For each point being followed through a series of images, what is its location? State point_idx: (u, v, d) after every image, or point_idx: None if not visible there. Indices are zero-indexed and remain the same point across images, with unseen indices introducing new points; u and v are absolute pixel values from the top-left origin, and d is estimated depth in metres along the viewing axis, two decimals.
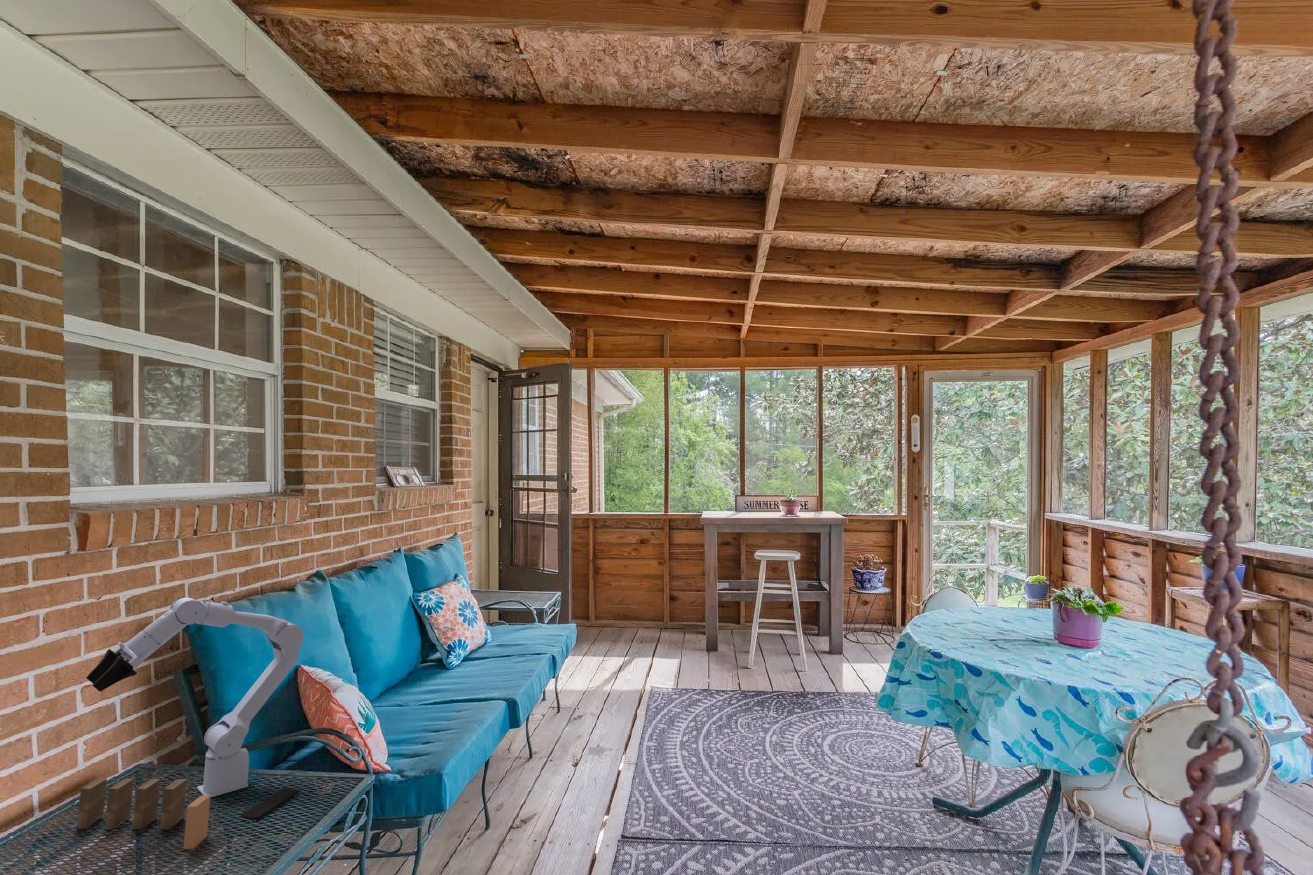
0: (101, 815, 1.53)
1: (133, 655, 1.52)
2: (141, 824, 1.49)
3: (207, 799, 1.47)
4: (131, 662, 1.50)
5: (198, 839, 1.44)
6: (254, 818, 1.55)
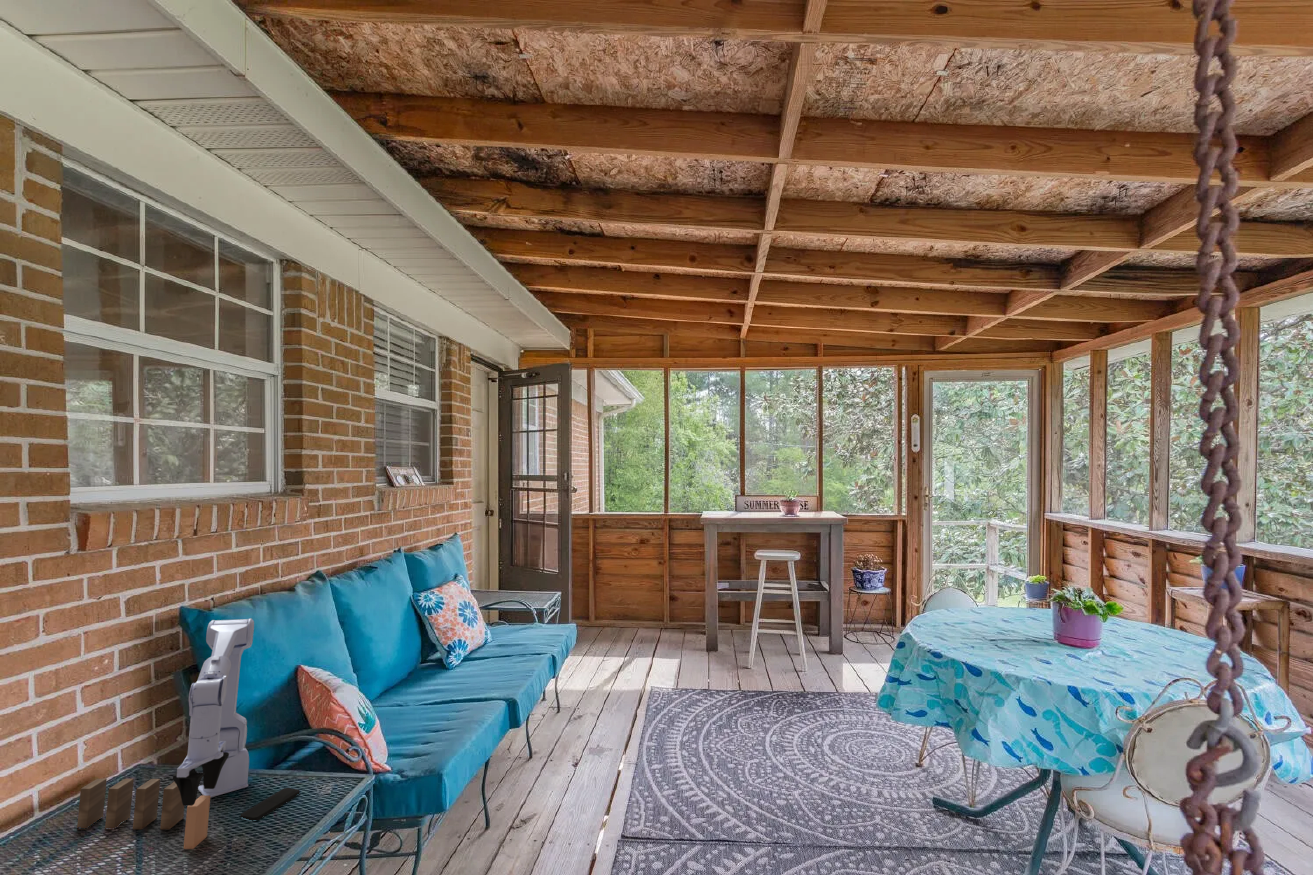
0: (101, 815, 1.53)
1: (222, 745, 1.52)
2: (141, 824, 1.49)
3: (207, 799, 1.47)
4: None
5: (198, 839, 1.44)
6: (254, 818, 1.55)
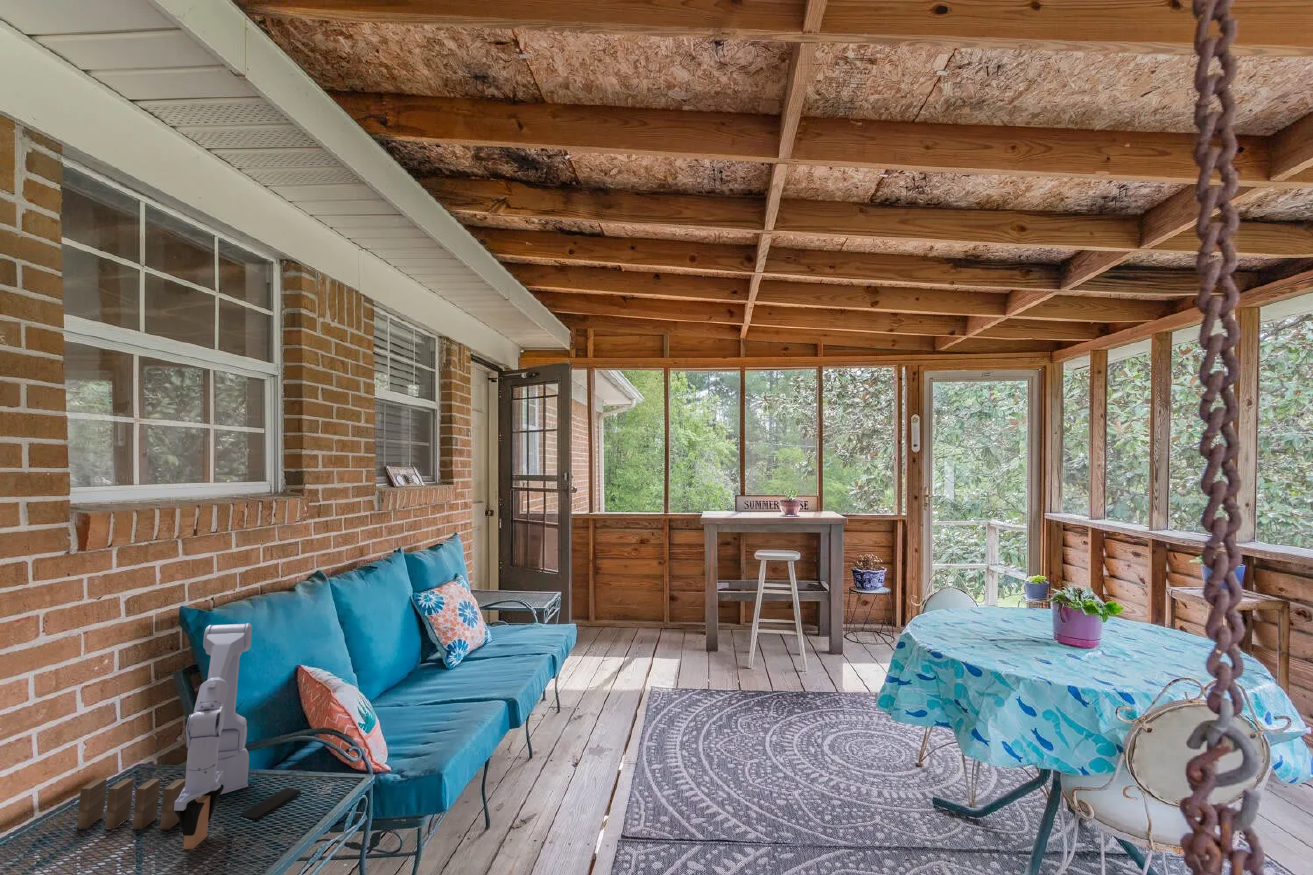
0: (101, 815, 1.53)
1: (220, 775, 1.52)
2: (141, 824, 1.49)
3: (207, 799, 1.47)
4: None
5: (198, 839, 1.44)
6: (253, 818, 1.55)
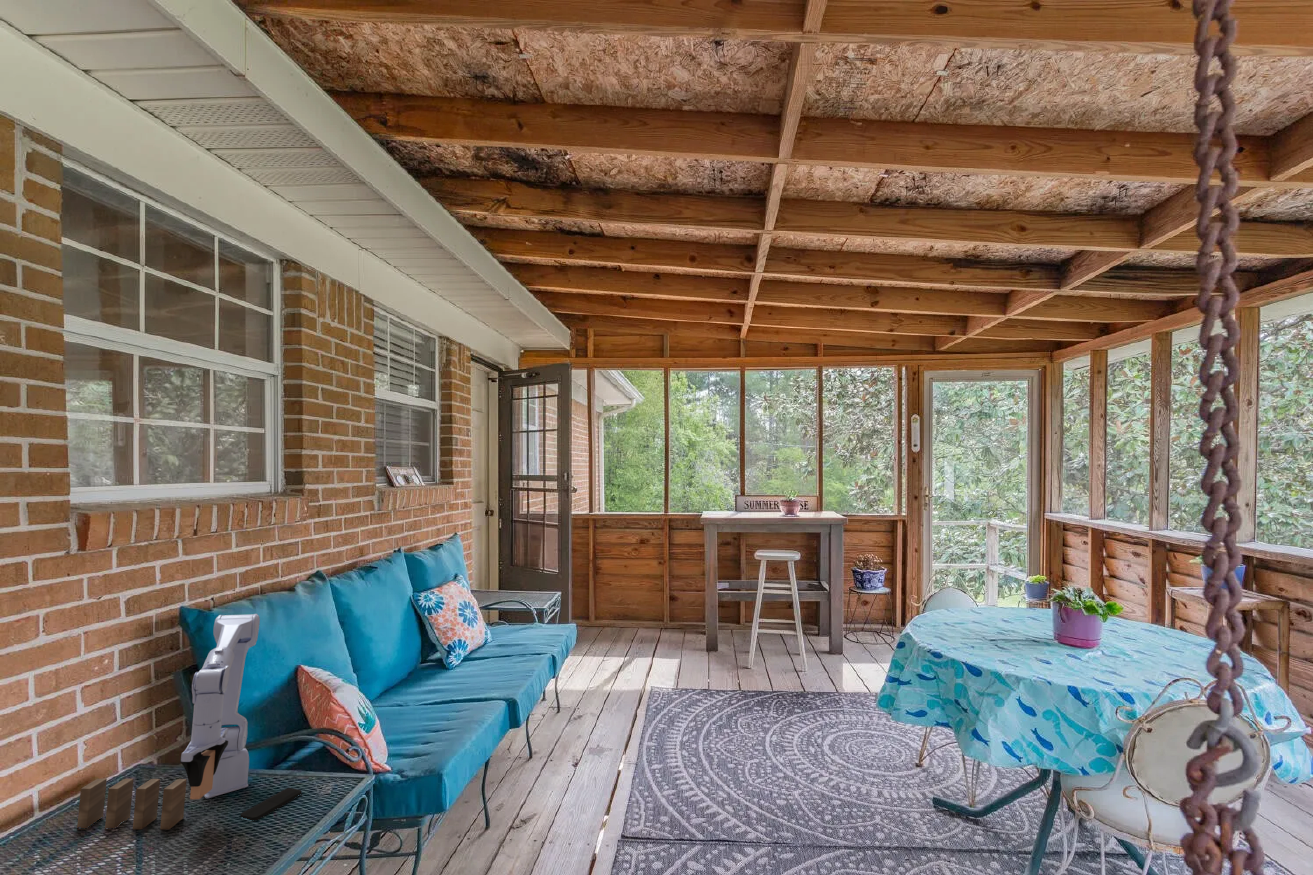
0: (101, 815, 1.53)
1: (224, 731, 1.59)
2: (141, 824, 1.49)
3: (212, 753, 1.54)
4: None
5: (204, 790, 1.52)
6: (253, 818, 1.55)
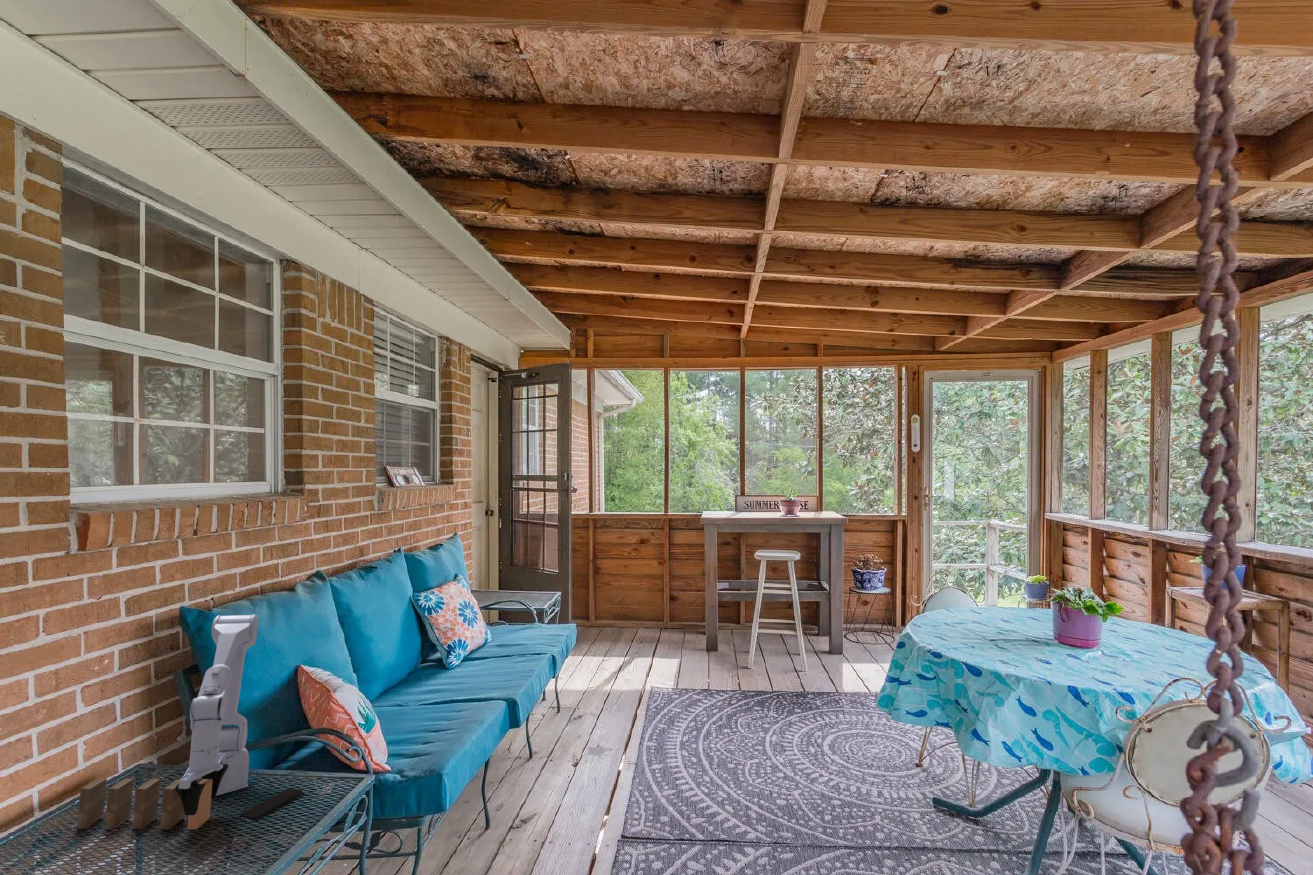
0: (101, 815, 1.53)
1: (222, 757, 1.59)
2: (141, 824, 1.49)
3: (209, 782, 1.55)
4: None
5: (201, 820, 1.52)
6: (252, 818, 1.55)
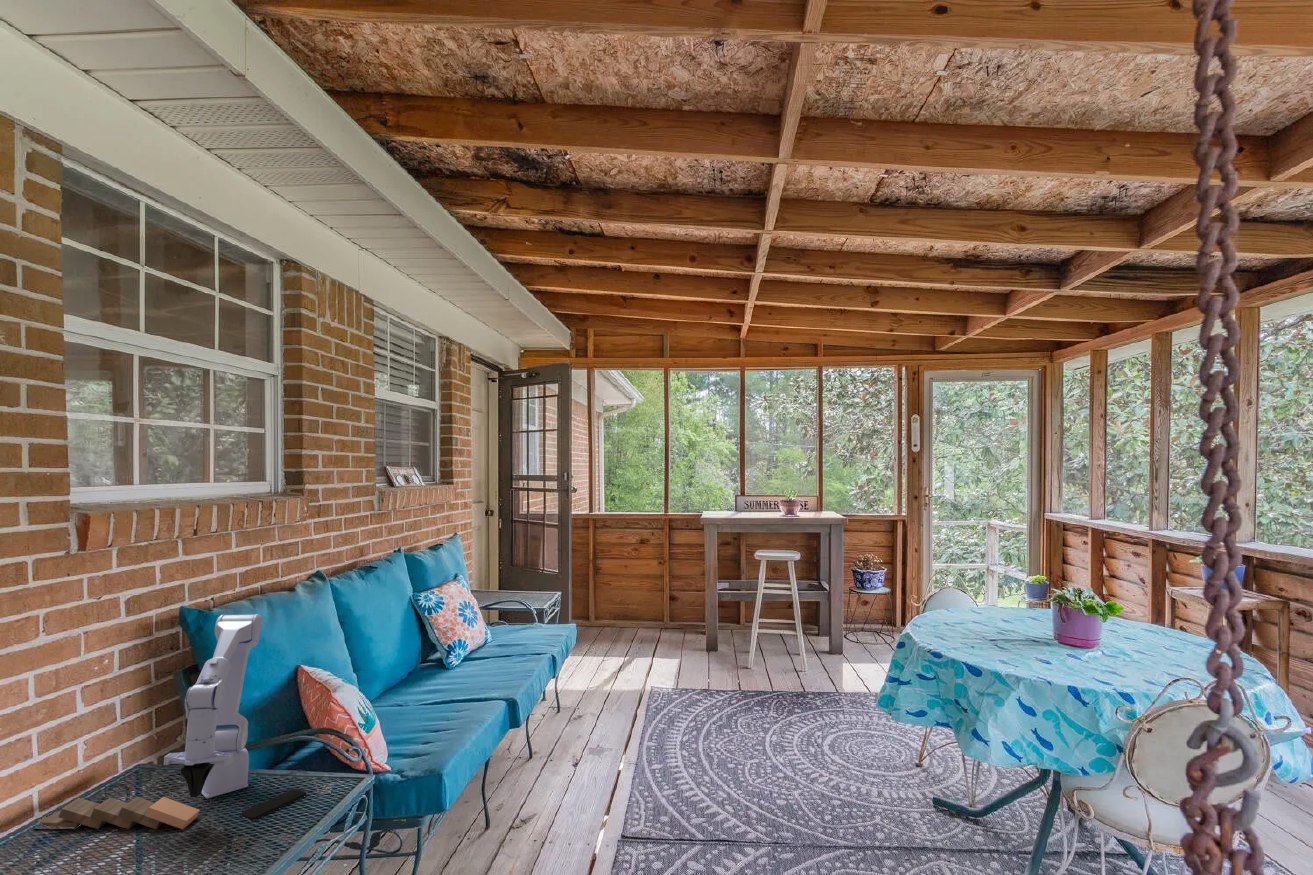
0: None
1: (221, 758, 1.53)
2: (127, 819, 1.49)
3: (162, 799, 1.54)
4: (229, 763, 1.53)
5: (186, 815, 1.52)
6: (251, 818, 1.55)
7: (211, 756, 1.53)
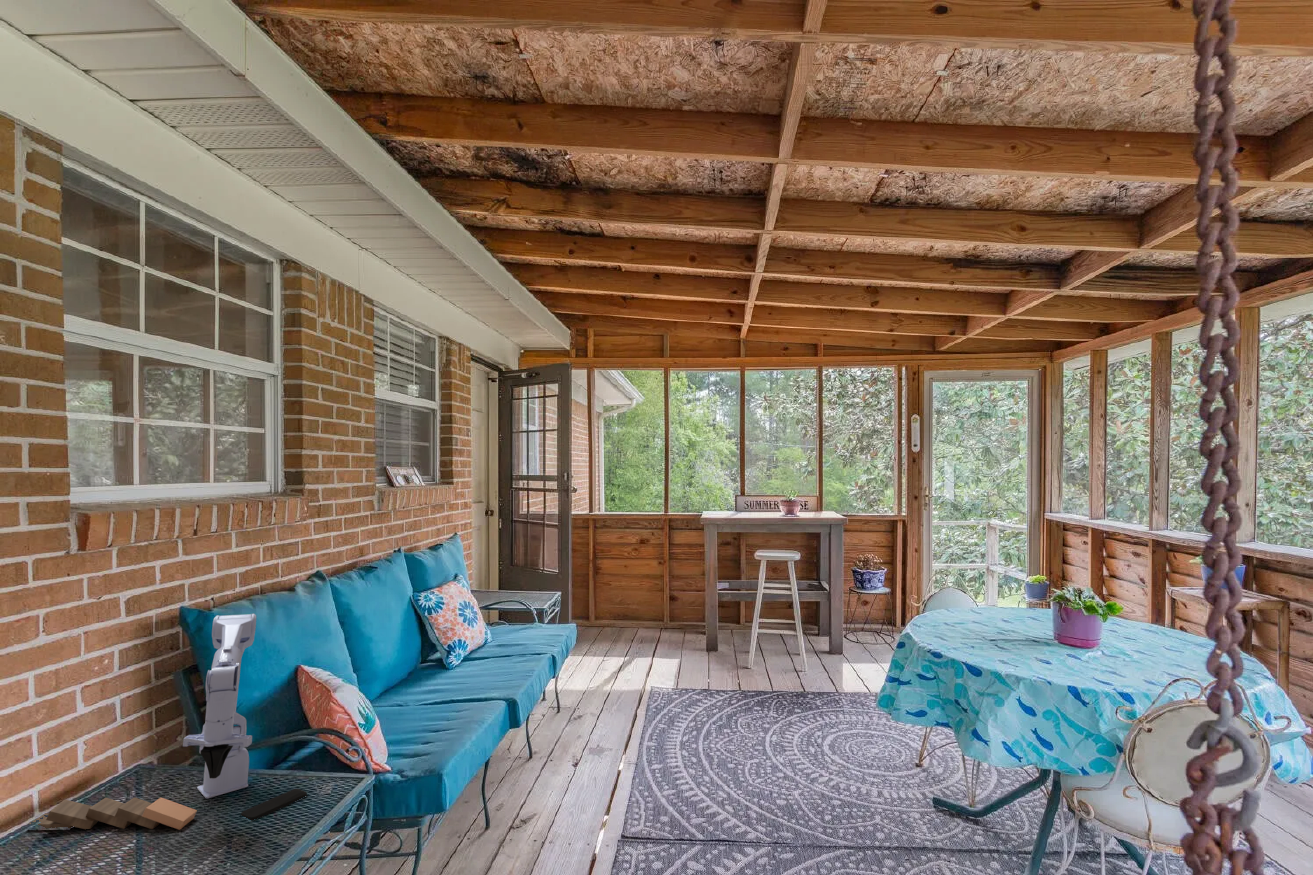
0: None
1: (240, 740, 1.54)
2: (123, 819, 1.49)
3: (159, 799, 1.54)
4: (248, 744, 1.55)
5: (183, 815, 1.52)
6: (250, 818, 1.55)
7: (230, 738, 1.55)
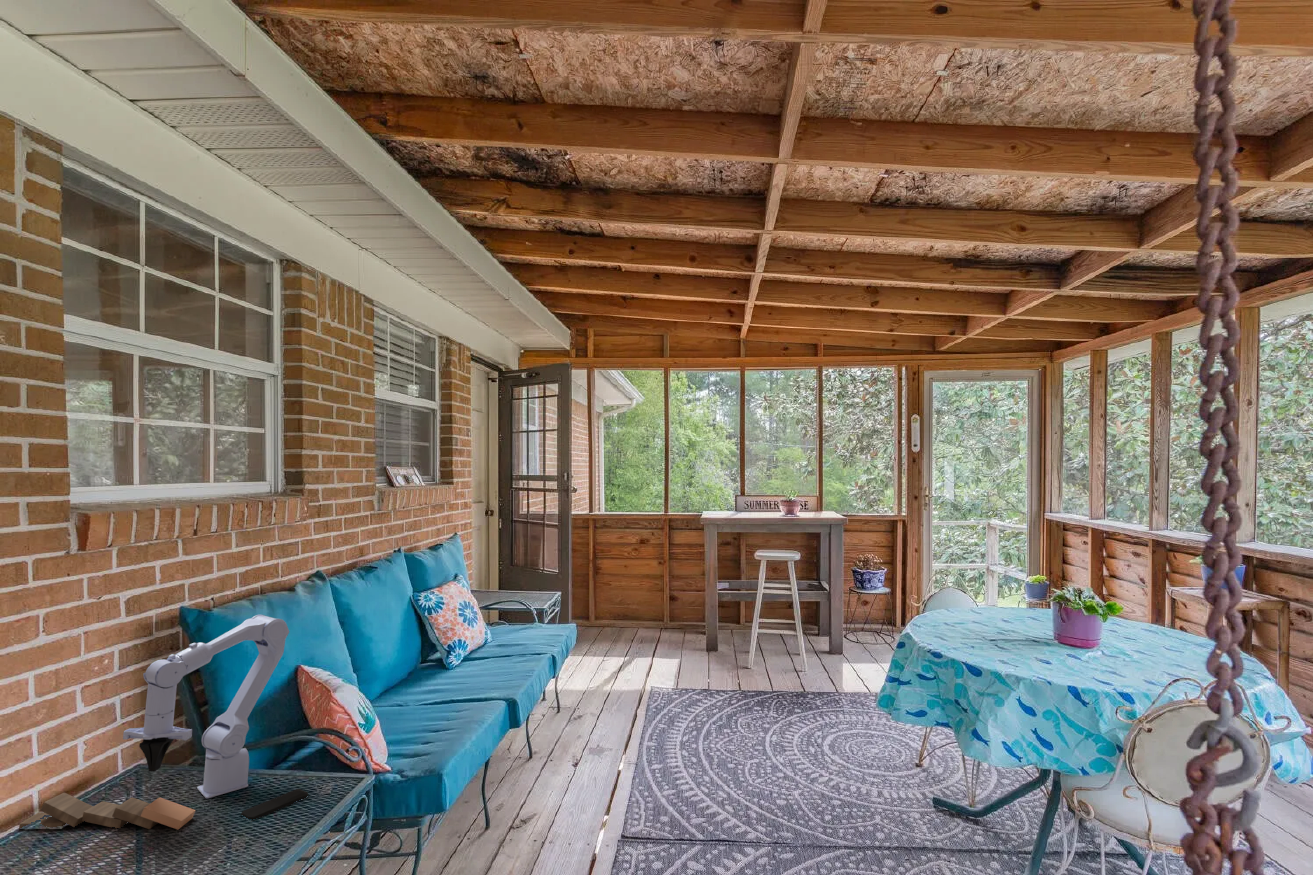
0: None
1: (179, 733, 1.56)
2: (117, 819, 1.49)
3: (158, 799, 1.54)
4: (187, 738, 1.57)
5: (181, 815, 1.52)
6: (250, 817, 1.55)
7: (170, 731, 1.57)
